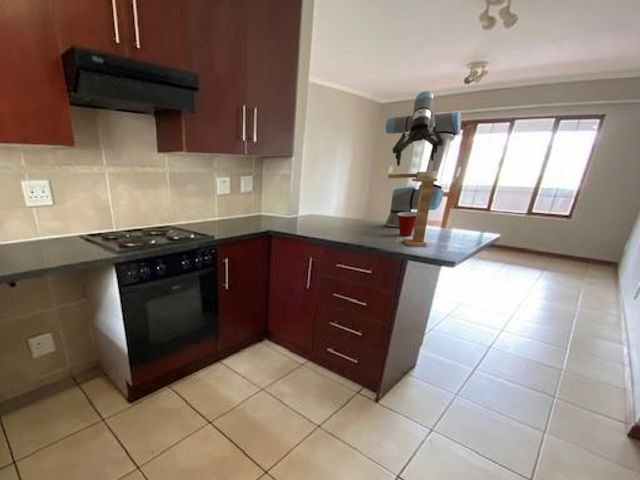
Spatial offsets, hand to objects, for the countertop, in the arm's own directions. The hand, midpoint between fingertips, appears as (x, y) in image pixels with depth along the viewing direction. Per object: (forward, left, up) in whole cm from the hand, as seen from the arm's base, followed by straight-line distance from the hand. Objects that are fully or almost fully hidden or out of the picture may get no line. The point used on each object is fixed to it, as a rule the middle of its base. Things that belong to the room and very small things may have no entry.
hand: (414, 161), depth 148 cm
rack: (-2, +6, -37) cm, 38 cm away
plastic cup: (-24, +7, -38) cm, 45 cm away
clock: (-2, 0, -7) cm, 8 cm away
